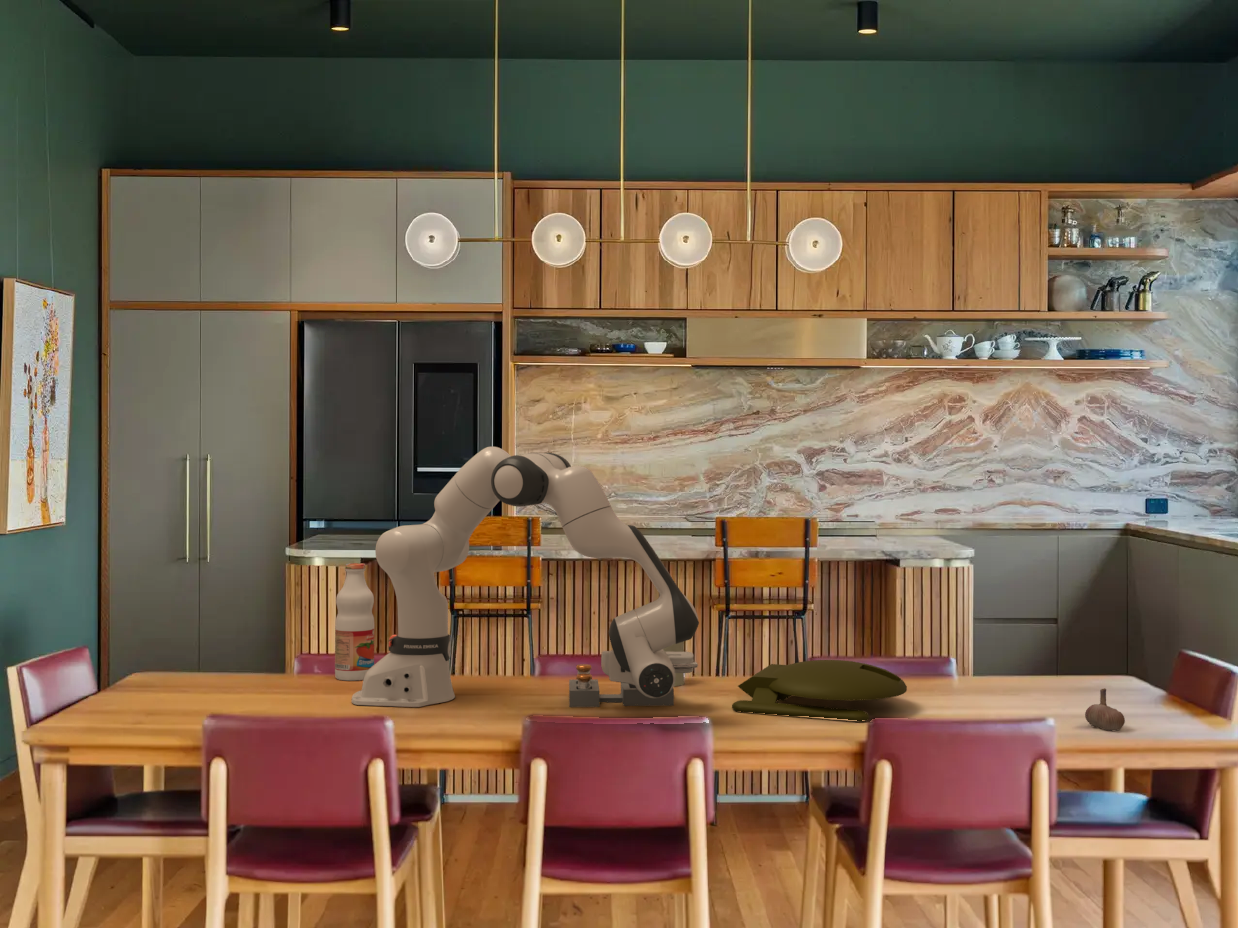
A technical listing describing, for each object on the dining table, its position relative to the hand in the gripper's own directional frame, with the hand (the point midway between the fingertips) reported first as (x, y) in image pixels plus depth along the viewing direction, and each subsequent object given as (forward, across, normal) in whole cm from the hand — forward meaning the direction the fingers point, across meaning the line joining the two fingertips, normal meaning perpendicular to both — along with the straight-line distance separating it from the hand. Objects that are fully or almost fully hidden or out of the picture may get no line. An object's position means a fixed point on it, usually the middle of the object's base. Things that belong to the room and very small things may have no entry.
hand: (645, 655), depth 246 cm
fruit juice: (+28, +70, +11) cm, 76 cm away
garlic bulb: (-30, -90, +9) cm, 96 cm away
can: (+19, -6, +10) cm, 22 cm away
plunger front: (-4, +14, +9) cm, 17 cm away
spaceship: (-6, -39, +10) cm, 41 cm away
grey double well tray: (-1, +5, +10) cm, 11 cm away
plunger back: (+2, +14, +8) cm, 16 cm away
